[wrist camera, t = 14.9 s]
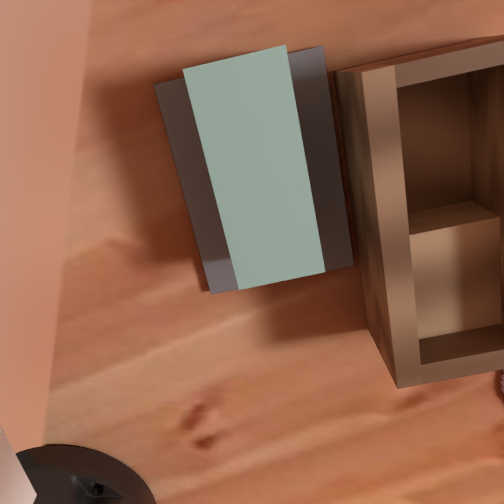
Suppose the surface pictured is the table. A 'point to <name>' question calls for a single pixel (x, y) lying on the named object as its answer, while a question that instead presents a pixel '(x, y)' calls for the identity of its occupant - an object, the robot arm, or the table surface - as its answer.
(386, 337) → the frame
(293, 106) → the part
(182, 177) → the mat
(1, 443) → the robot arm
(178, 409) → the table surface
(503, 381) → the seashell
